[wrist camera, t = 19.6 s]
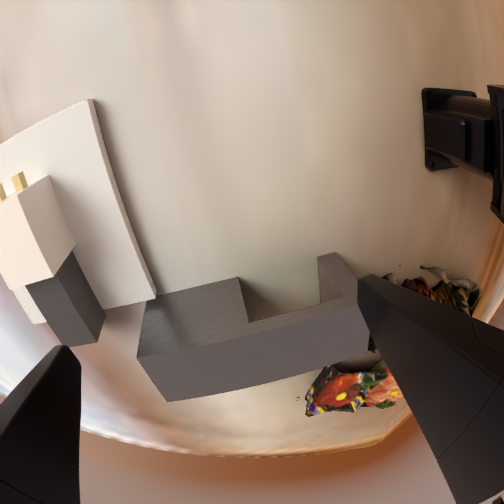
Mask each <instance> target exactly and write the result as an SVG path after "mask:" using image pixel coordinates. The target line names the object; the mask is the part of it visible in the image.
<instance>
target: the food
mask: <svg viewBox="0 0 504 504" xmlns="http://www.w3.org/2000/svg"><path fill="white" fill-rule="evenodd" d="M399 266H401V265H399ZM420 268H421V269H427V270H429V271H431V272H432V273H434V274H436V275H437V276H439V277H440V278H442V279H443V280H442V281H441V282H440V283H438V284H437V285H436V286H435V287H433V288H431V289H430V288H429V287H428V285H427V282H426V280H425V279H424V278H423V277H417V278H415V279H413V280H409V279H405V281H404V282H403V284H402V285H401V286H402V287H404V288H407V289H409V290H411V291H414V292H416V293H418V294H421V295H423V296H425V297H428V298H430V299H432V300H435V301H437V302H439V303H441V304H444V305H446V306H448V307H451V308H453V309H455V310H457V311H460V312H462V313H464V314H466V315H469V316H470V317H471V318H472V314H473V312H474V310H475V308H476V306H477V304H478V302H479V299H480V297H481V294H482V289H481V288H480V286H479V285H478V284H477V283H476V282H473V281H470V280H467V279H460V280H454V279H451V280H448V279H447V276H446V274H445V272H444V270H441V269H439V268H437V267H431V268H424V267H423V266H420ZM382 278H383V279H385V280H388V281H390V282H393V283H395V284H397V282H396V276H395V274H394V273H390V274H387V275H385V276H384V277H382ZM397 285H398V284H397ZM375 349H377V347H376V345H375V343H374V341H373V338H372V336H371V334H369V342H368V351H372V352H374V353H376V352H375ZM402 397H403V394H402V392H401V390H400V389H399V387H398V385H397V383H396V381H395V379H394V378H393V376H392V374H391V372H390V371H389V369H388V367H387V365H386V364H385V362H384V360H383V358H382V359H381V360H380V361H379V362H377V363H376V364H375V365H374V367H373V368H371V370H370V371H369V372H355V373H354V374H349V373H340V372H338V371H337V370H336V368H335V367H334V365H333V364H332V365H329V366H326V367H324V369H323V370H322V372H321V373H320V374H319V376H318V377H317V378H316V380H315V381H314V383H313V384H312V385H311V386H310V388H309V391H308V392H307V394H306V396H305V400H306V401H307V405H306V413H305V415H307V416H308V417H310V416H315V415H317V414H320V413H323V412H326V411H327V412H328V411H330V412H331V411H332V410H333V411H347V412H356V411H357V410H359V409H360V407H373V406H376V407H378V408H382V409H384V408H385V407H386V408H388V407H390V406H393V405H396V402H397V400H398V399H400V398H402ZM297 398H299V399H300V397H297ZM296 401H297V400H296Z"/></svg>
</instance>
